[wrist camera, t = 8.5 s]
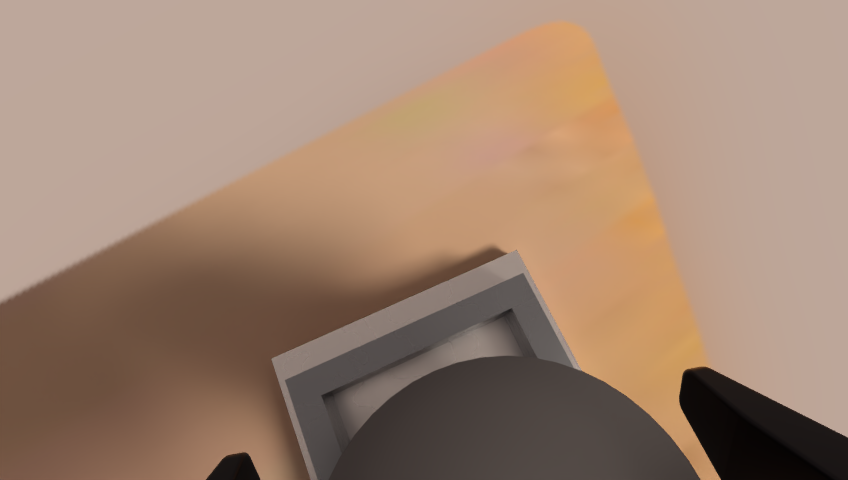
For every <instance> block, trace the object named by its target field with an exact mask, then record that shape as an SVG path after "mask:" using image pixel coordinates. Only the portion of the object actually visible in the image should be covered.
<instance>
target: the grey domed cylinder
mask: <svg viewBox="0 0 848 480" xmlns="http://www.w3.org/2000/svg"><path fill="white" fill-rule="evenodd" d="M329 480H700V478H699V477H698V475H697V473H696V472H695V470H694V468H693V467H692V465H691V464H690V462H689V460H688V459H687V458H686V456H685V455H684V454H683V452H682V451H681V450H680V449H679V447H678V446H677V445H676V443H675V442H674V441H673V440H672V438H671V437H670V436H669V435H668V434H667V433H666V432H665V431H664V429H663V428H662V427H661V426H660V425H659V424H658V423H657V422H656V421H655V420H654V419H653V418H652V417H651V416H650V415H649V414H648V413H646V412H645V411H644V410H643V409H642V408H640V407H639V406H638V405H637V404H636V403H634V402H633V401H632V400H631V399H629V398H628V397H627V396H625V395H624V394H622V393H621V392H619V391H618V390H616V389H614V388H613V387H611V386H610V385H608V384H607V383H605V382H603V381H601V380H599V379H597V378H595V377H593V376H591V375H589V374H587V373H585V372H583V371H581V370H578V369H575V368H572V367H569V366H566V365H563V364H560V363H557V362H553V361H548V360H543V359H538V358H533V357H520V356H494V357H481V358H476V359H471V360H467V361H462V362H457V363H455V364H452V365H449V366H446V367H443V368H441V369H438V370H435V371H433V372H431V373H429V374H427V375H425V376H423V377H421V378H419V379H417V380H415V381H414V382H412V383H410V384H409V385H407V386H406V387H405V388H403V389H402V390H400V391H399V392H397V393H396V394H395V395H393V396H392V397H391V398H389V399H388V400H387V401H386V402H385V403H384V404H383V405H382V406H381V407H380V408H379V409H377V410H376V411H375V412H374V413H373V414H372V415H371V416H370V417H369V419H368V420H367V421H366V422H365V423H364V424H363V426H362V427H361V428H360V429H359V430H358V432H357V433H356V434H355V435H354V437H353V438H352V440H351V441H350V443H349V444H348V446H347V447H346V449H345V450H344V452H343V453H342V455H341V456H340V458H339V460H338V462H337V464H336V466H335V468H334V470H333V472H332V474H331V476H330V478H329Z"/></svg>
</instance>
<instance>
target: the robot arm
mask: <svg viewBox="0 0 848 480" xmlns="http://www.w3.org/2000/svg"><path fill="white" fill-rule="evenodd" d="M679 402H680V406H681V409H682V411H683V413H684V414H685V416H686V418H687V420H688V422H689V423H690V425H691V427H692V429H693V431H694V432H695V434H696V436H697V438H698V440H699V441H700V443H701V445H702V447H703V449H704V450H705V452H706V454H707V456H708V458H709V459H710V461H711V463H712V465H713V466H714V468H715V470H716V472H717V473H718V475H719V477H720V479H721V480H848V438H847V437H846V436H843V435H842V434H840V433H837V432H835V431H833V430H832V429H830V428H828V427H826V426H824V425H821V424H820V423H818V422H816V421H814V420H812V419H810V418H808V417H806V416H803V415H802V414H800V413H798V412H796V411H794V410H792V409H790V408H788V407H786V406H783V405H782V404H780V403H777V402H776V401H774V400H772V399H770V398H768V397H766V396H764V395H762V394H760V393H758V392H756V391H754V390H752V389H750V388H748V387H746V386H744V385H742V384H740V383H738V382H736V381H734V380H732V379H730V378H728V377H726V376H724V375H722V374H720V373H718V372H716V371H714V370H712V369H710V368H708V367H697V368H691V369H687V370H685V371H684V373H683V376H682V383H681V389H680V395H679ZM206 480H260V478H259V475H258V473H257V471H256V469H255V467H254V464H253V462H252V460H251V458H250V456H249V454H247V453H244V452H243V453H237V454H232V455H228V456H226V457H225V458H223V459H222V460H221V462H220V463H219V464H218V465H217V467H216V468H215V469H214V470H213V472H212V473H211V474H210V475H209V476H208V478H207V479H206Z"/></svg>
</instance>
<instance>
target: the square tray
mask: <svg viewBox="0 0 848 480" xmlns="http://www.w3.org/2000/svg"><path fill="white" fill-rule="evenodd" d="M494 356H520V357H533V358H538V359H543V360H548V361H553V362H557V363H560V364H563V365H566V366H569V367H572V368H575V369H578V370H581V368H580V367H579V365H578V363H577V361H576V359H575V357H574V355H573V354H572V352H571V350H570V348H569V346H568V344H567V342H566V341H565V339H564V337H563V335H562V333H561V331H560V329H559V328H558V326H557V324H556V322H555V320H554V318H553V316H552V315H551V313H550V311H549V309H548V307H547V305H546V303H545V301H544V300H543V298H542V296H541V294H540V292H539V290H538V288H537V287H536V285H535V283H534V281H533V279H532V277H531V275H530V274H529V272H528V270H527V268H526V266H525V264H524V262H523V261H522V259H521V257H520V255H519V253H518V251H517V250H515V251H513V252H511V253H508V254H506V255H504V256H502V257H499V258H497V259H495V260H493V261H490V262H488V263H486V264H484V265H481V266H479V267H477V268H475V269H472V270H470V271H468V272H466V273H463V274H461V275H459V276H457V277H454V278H452V279H450V280H447V281H445V282H443V283H441V284H438V285H436V286H434V287H432V288H429V289H427V290H425V291H423V292H420V293H418V294H416V295H414V296H411V297H409V298H407V299H405V300H402V301H400V302H398V303H396V304H393V305H391V306H389V307H387V308H384V309H382V310H380V311H378V312H375V313H373V314H371V315H368V316H366V317H364V318H362V319H359V320H357V321H355V322H353V323H350V324H348V325H346V326H344V327H341V328H339V329H337V330H335V331H332V332H330V333H328V334H326V335H323V336H321V337H319V338H317V339H314V340H312V341H310V342H308V343H305V344H303V345H301V346H299V347H296V348H294V349H292V350H289V351H287V352H285V353H283V354H280V355H278V356H276V357H274V358H271V360H272V363H273V366H274V369H275V372H276V375H277V378H278V381H279V384H280V387H281V390H282V394H283V397H284V400H285V403H286V406H287V409H288V412H289V415H290V418H291V421H292V424H293V427H294V430H295V433H296V437H297V440H298V443H299V446H300V449H301V452H302V455H303V458H304V461H305V464H306V467H307V470H308V473H309V476H310V479H311V480H329V478H330V476H331V474H332V472H333V470H334V468H335V466H336V464H337V462H338V460H339V458H340V456H341V455H342V453H343V452H344V450H345V449H346V447H347V446H348V444H349V443H350V441H351V440H352V438H353V437H354V435H355V434H356V433H357V432H358V430H359V429H360V428H361V427H362V426H363V424H364V423H365V422H366V421H367V420H368V419H369V417H370V416H371V415H372V414H373V413H374V412H375V411H376V410H377V409H379V408H380V407H381V406H382V405H383V404H384V403H385V402H386V401H387V400H388V399H389V398H391V397H392V396H393V395H395V394H396V393H397V392H399V391H400V390H402V389H403V388H405V387H406V386H407V385H409V384H410V383H412V382H414V381H415V380H417V379H419V378H421V377H423V376H425V375H427V374H429V373H431V372H433V371H435V370H438V369H441V368H443V367H446V366H449V365H452V364H455V363H457V362H462V361H467V360H471V359H476V358H481V357H494ZM581 371H582V370H581Z"/></svg>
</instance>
